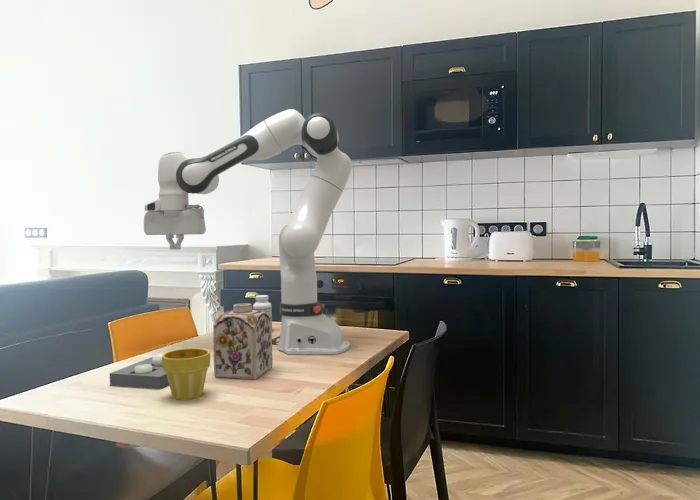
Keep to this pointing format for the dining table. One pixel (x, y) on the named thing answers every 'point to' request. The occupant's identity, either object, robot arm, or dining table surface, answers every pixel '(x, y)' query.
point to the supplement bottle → (263, 305)
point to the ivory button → (157, 359)
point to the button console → (140, 377)
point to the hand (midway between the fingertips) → (175, 249)
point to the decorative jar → (242, 343)
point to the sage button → (143, 369)
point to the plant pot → (186, 371)
